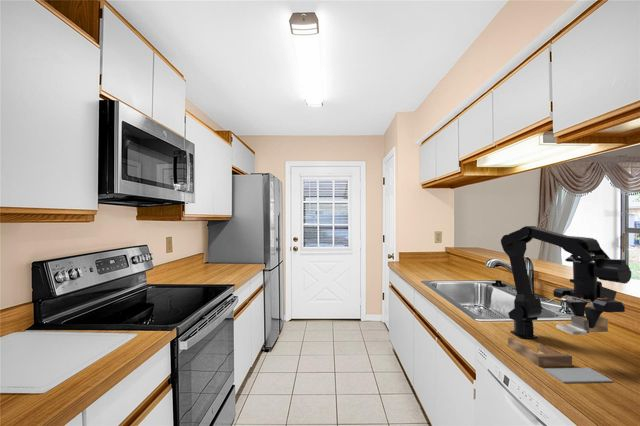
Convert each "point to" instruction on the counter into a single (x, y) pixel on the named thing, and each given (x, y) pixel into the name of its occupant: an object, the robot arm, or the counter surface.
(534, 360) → the corner fence
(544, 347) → the shard
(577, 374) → the mat
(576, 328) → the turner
